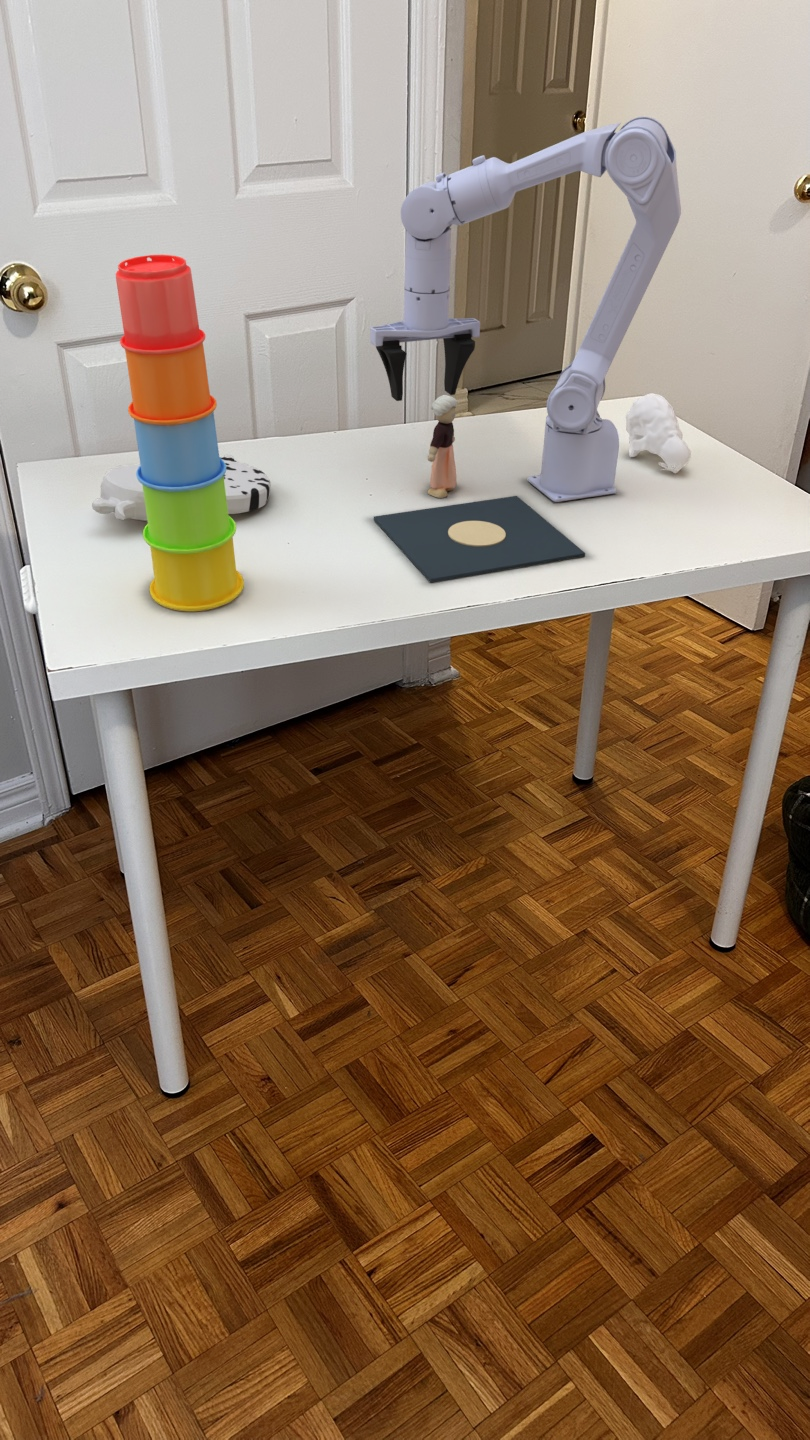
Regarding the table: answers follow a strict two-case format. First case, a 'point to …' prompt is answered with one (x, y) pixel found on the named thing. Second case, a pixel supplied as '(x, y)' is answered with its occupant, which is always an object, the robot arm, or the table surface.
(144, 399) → the stacking cups
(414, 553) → the display mat
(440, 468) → the grandmother figurine
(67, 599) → the table surface
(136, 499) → the toy
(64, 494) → the table surface
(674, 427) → the white lumpy figurine
